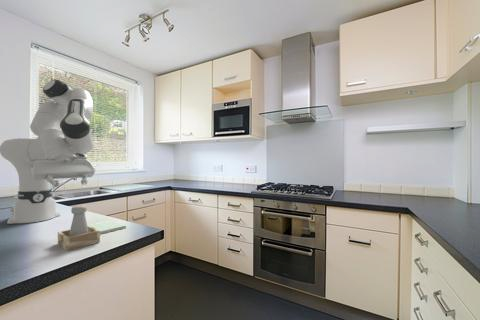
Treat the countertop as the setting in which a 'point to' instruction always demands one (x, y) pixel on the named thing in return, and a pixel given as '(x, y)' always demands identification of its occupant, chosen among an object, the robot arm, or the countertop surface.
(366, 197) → the countertop surface
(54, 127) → the robot arm
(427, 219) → the countertop surface
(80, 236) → the wooden box
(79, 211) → the salt shaker
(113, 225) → the sage mat
